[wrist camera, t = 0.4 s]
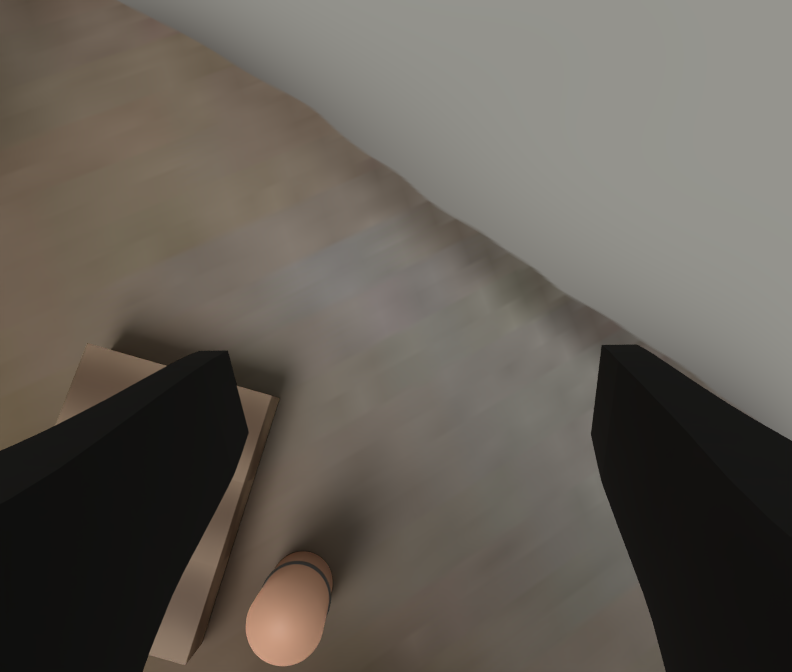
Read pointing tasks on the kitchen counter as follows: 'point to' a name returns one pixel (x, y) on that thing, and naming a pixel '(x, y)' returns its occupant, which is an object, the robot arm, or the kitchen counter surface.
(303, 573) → the peg
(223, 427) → the robot arm
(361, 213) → the kitchen counter surface
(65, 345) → the kitchen counter surface
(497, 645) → the kitchen counter surface
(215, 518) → the socket board
